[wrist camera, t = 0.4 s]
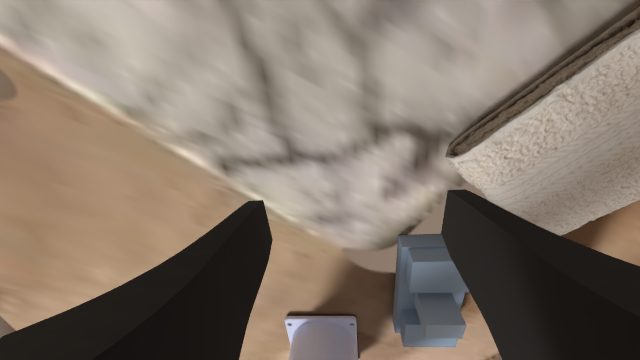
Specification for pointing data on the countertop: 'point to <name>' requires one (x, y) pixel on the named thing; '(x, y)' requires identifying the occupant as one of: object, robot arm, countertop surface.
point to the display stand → (427, 293)
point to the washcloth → (564, 138)
